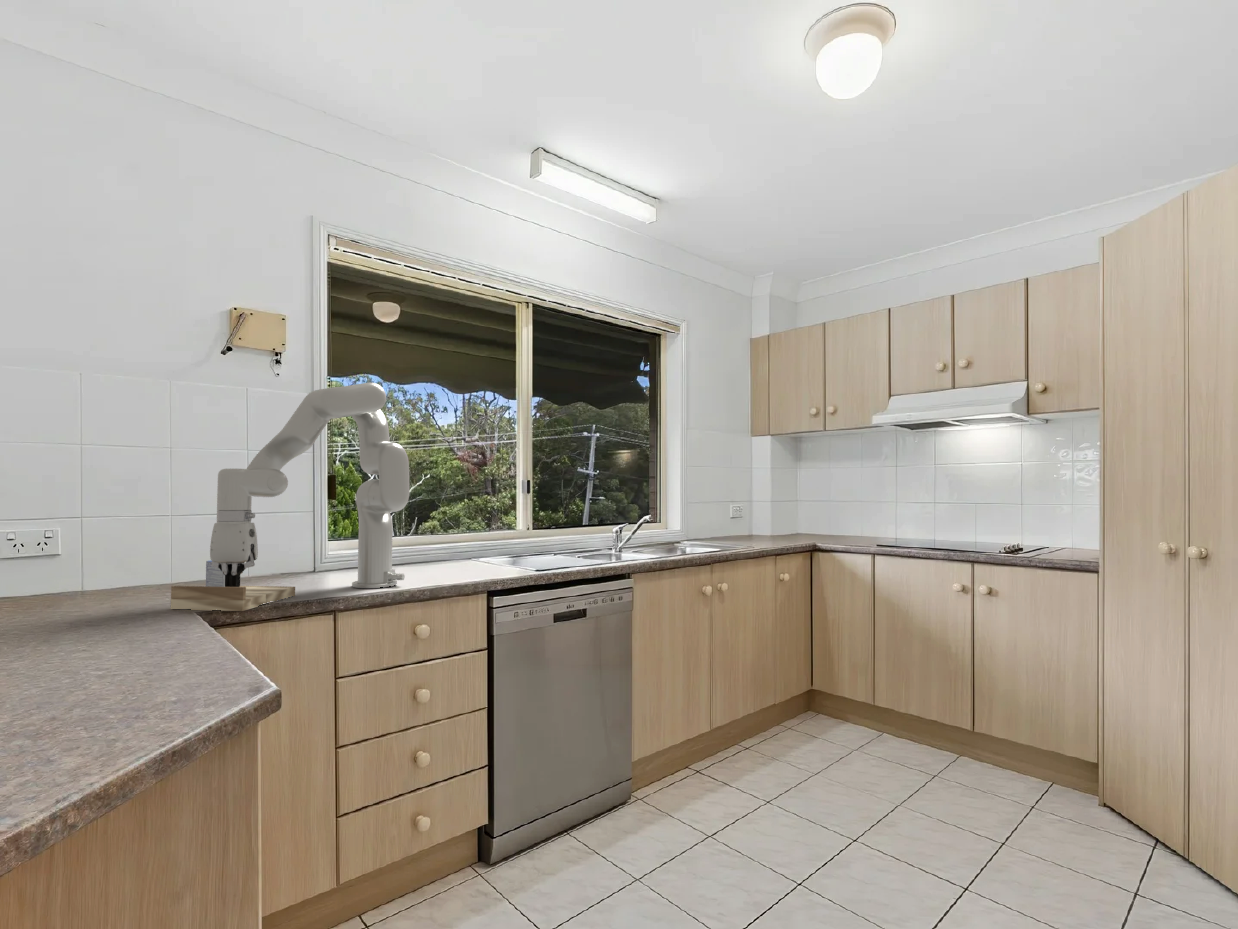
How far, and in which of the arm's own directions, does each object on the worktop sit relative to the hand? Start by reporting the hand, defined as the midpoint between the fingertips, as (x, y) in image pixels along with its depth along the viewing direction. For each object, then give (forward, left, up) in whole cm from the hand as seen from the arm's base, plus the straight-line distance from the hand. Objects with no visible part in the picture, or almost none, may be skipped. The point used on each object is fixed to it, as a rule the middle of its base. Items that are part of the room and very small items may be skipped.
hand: (232, 590), depth 167 cm
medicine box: (+16, -19, -4) cm, 25 cm away
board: (0, -2, -3) cm, 4 cm away
